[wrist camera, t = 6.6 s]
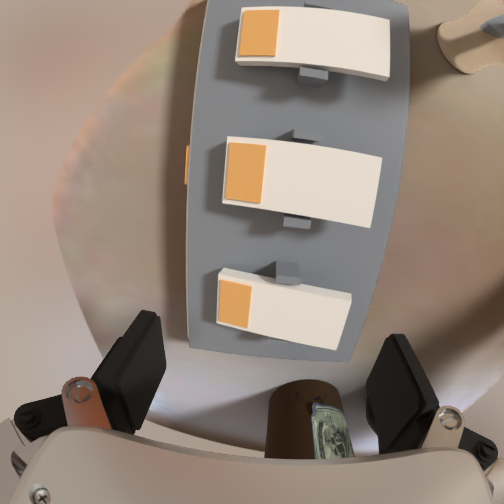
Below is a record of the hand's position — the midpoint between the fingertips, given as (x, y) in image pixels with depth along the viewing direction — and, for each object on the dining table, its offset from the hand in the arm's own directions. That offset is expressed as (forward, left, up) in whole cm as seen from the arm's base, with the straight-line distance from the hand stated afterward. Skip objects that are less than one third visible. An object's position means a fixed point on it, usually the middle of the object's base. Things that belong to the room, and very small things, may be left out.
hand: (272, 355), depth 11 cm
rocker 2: (-1, +4, -11) cm, 11 cm away
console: (-1, -6, -16) cm, 17 cm away
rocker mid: (-1, -6, -11) cm, 12 cm away
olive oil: (-7, +22, -16) cm, 28 cm away
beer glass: (-17, -23, -16) cm, 33 cm away
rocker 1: (-1, -16, -11) cm, 19 cm away
